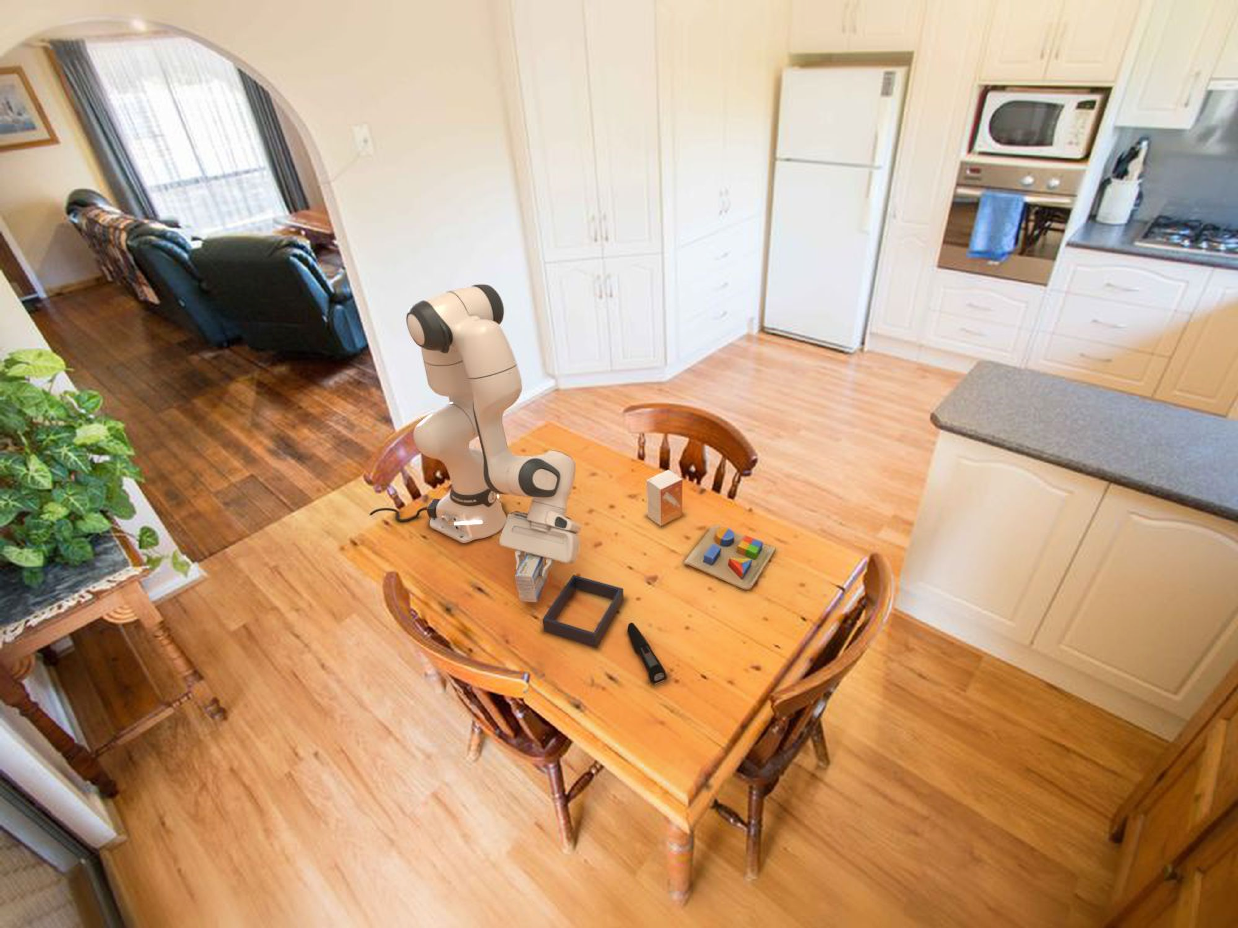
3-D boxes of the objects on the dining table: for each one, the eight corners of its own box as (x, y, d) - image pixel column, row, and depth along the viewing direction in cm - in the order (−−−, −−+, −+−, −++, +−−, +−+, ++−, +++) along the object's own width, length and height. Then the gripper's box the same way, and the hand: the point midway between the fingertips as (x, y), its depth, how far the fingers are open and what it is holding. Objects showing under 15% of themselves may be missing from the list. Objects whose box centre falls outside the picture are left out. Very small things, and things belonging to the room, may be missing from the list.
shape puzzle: (750, 592, 149) (752, 579, 146) (682, 566, 158) (682, 554, 155) (776, 550, 161) (778, 538, 158) (711, 528, 170) (711, 516, 167)
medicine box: (537, 603, 145) (532, 577, 140) (519, 601, 146) (514, 574, 141) (546, 580, 152) (543, 554, 147) (529, 578, 152) (525, 552, 148)
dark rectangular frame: (544, 631, 142) (542, 619, 140) (574, 586, 154) (573, 574, 152) (596, 648, 137) (595, 636, 135) (623, 600, 149) (623, 588, 147)
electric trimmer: (638, 628, 142) (638, 619, 140) (668, 679, 129) (667, 669, 128) (623, 633, 141) (623, 624, 139) (651, 685, 128) (651, 676, 127)
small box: (661, 527, 171) (660, 489, 164) (647, 516, 176) (645, 479, 168) (683, 515, 175) (683, 478, 168) (668, 505, 179) (668, 468, 172)
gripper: (503, 507, 149) (487, 562, 147) (577, 524, 141) (562, 583, 140) (515, 510, 155) (501, 564, 153) (587, 528, 147) (573, 584, 145)
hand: (530, 573), depth 146 cm, fingers closed on medicine box, 5 cm apart
